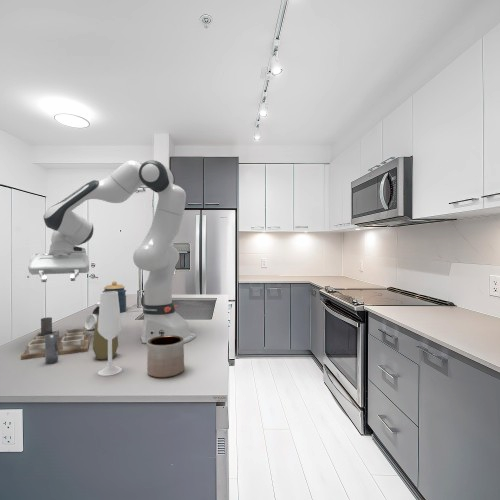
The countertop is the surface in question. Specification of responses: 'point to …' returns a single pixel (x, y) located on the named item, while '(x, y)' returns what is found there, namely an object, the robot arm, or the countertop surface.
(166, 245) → the robot arm
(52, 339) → the pin
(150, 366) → the planter
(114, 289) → the canister
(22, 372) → the countertop surface
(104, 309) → the champagne flute
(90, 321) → the spread jar
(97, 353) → the squeeze bottle
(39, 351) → the wooden compartment tray
